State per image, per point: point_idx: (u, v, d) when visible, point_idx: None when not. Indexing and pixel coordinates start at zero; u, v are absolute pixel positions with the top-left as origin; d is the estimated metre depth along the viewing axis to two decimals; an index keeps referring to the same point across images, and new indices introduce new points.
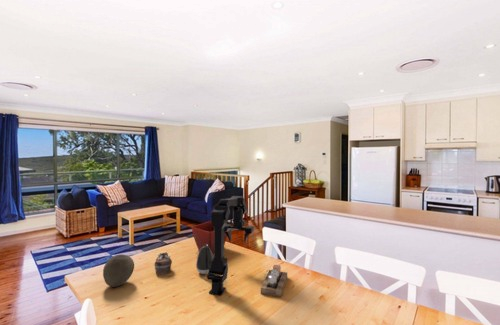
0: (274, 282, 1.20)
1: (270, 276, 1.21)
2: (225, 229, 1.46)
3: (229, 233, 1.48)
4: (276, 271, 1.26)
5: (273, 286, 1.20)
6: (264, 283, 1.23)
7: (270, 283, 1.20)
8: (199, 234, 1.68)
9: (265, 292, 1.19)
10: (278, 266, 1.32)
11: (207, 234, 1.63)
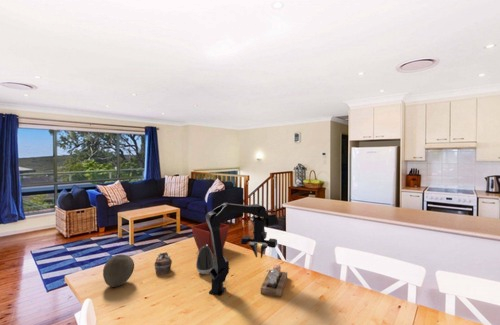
0: (274, 282, 1.20)
1: (270, 276, 1.21)
2: (245, 242, 1.30)
3: (255, 247, 1.31)
4: (276, 271, 1.26)
5: (273, 286, 1.20)
6: (264, 283, 1.23)
7: (270, 283, 1.20)
8: (199, 234, 1.68)
9: (265, 292, 1.19)
10: (278, 266, 1.32)
11: (207, 234, 1.63)
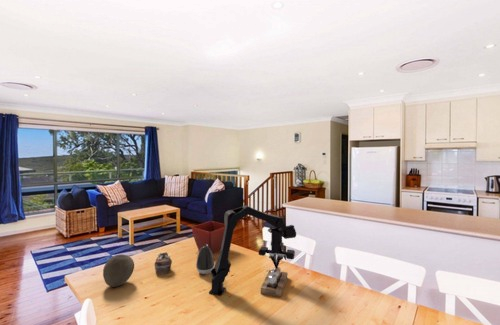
0: (274, 282, 1.20)
1: (270, 276, 1.21)
2: (263, 253, 1.31)
3: (275, 258, 1.31)
4: (276, 271, 1.26)
5: (273, 286, 1.20)
6: (264, 283, 1.23)
7: (270, 283, 1.20)
8: (199, 234, 1.68)
9: (265, 292, 1.19)
10: (278, 268, 1.32)
11: (207, 234, 1.63)
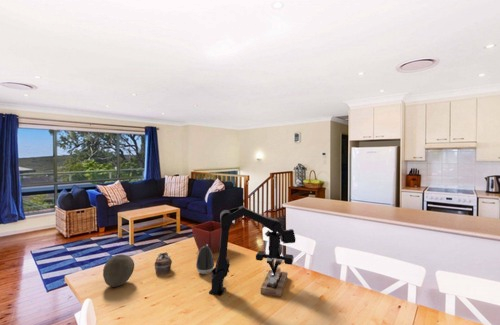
0: (274, 282, 1.20)
1: (270, 276, 1.21)
2: (260, 258, 1.25)
3: (273, 263, 1.26)
4: (276, 274, 1.26)
5: (273, 286, 1.20)
6: (264, 283, 1.23)
7: (270, 283, 1.20)
8: (199, 234, 1.68)
9: (265, 292, 1.19)
10: (278, 268, 1.32)
11: (207, 234, 1.63)
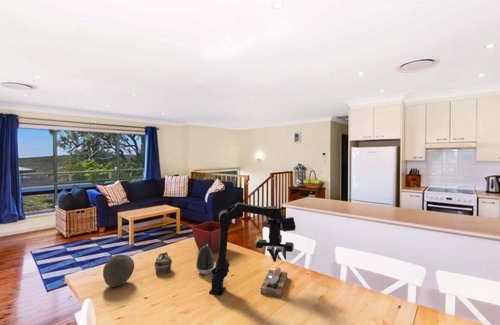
0: (274, 282, 1.20)
1: (270, 276, 1.21)
2: (260, 246, 1.25)
3: (273, 251, 1.25)
4: None
5: (273, 286, 1.20)
6: (264, 283, 1.23)
7: (270, 283, 1.20)
8: (199, 234, 1.68)
9: (265, 292, 1.19)
10: (278, 268, 1.32)
11: (207, 234, 1.63)
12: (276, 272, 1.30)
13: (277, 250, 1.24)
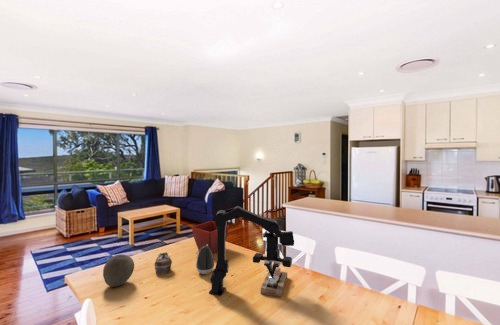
0: (274, 283, 1.20)
1: (270, 277, 1.21)
2: (257, 260, 1.20)
3: (270, 266, 1.20)
4: (276, 276, 1.26)
5: (273, 287, 1.20)
6: (264, 283, 1.23)
7: (270, 284, 1.20)
8: (199, 234, 1.68)
9: (265, 292, 1.19)
10: (278, 268, 1.32)
11: (207, 234, 1.63)
12: (276, 272, 1.30)
13: (275, 265, 1.19)
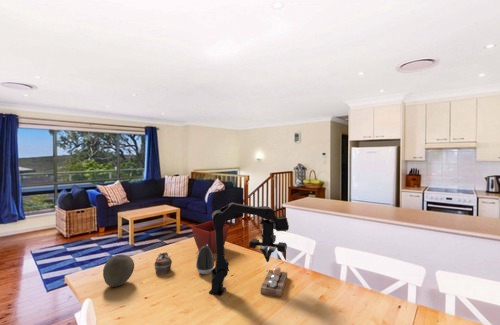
0: (274, 287, 1.20)
1: (270, 281, 1.21)
2: (253, 246, 1.26)
3: (266, 251, 1.26)
4: (276, 276, 1.26)
5: None
6: (264, 283, 1.23)
7: None
8: (199, 234, 1.68)
9: (265, 292, 1.19)
10: (278, 268, 1.32)
11: (207, 234, 1.63)
12: (276, 272, 1.30)
13: (270, 250, 1.24)
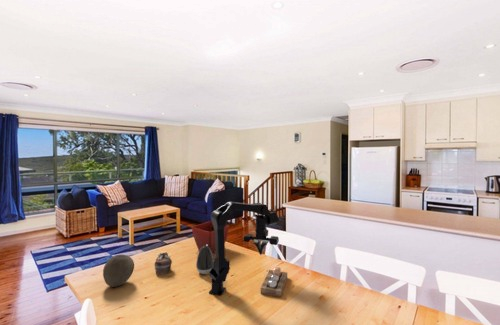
0: (274, 287, 1.20)
1: (270, 281, 1.21)
2: (247, 240, 1.34)
3: (259, 245, 1.34)
4: (276, 276, 1.26)
5: None
6: (264, 283, 1.23)
7: None
8: (199, 234, 1.68)
9: (265, 292, 1.19)
10: (278, 268, 1.32)
11: (207, 234, 1.63)
12: (276, 272, 1.30)
13: (263, 243, 1.32)
